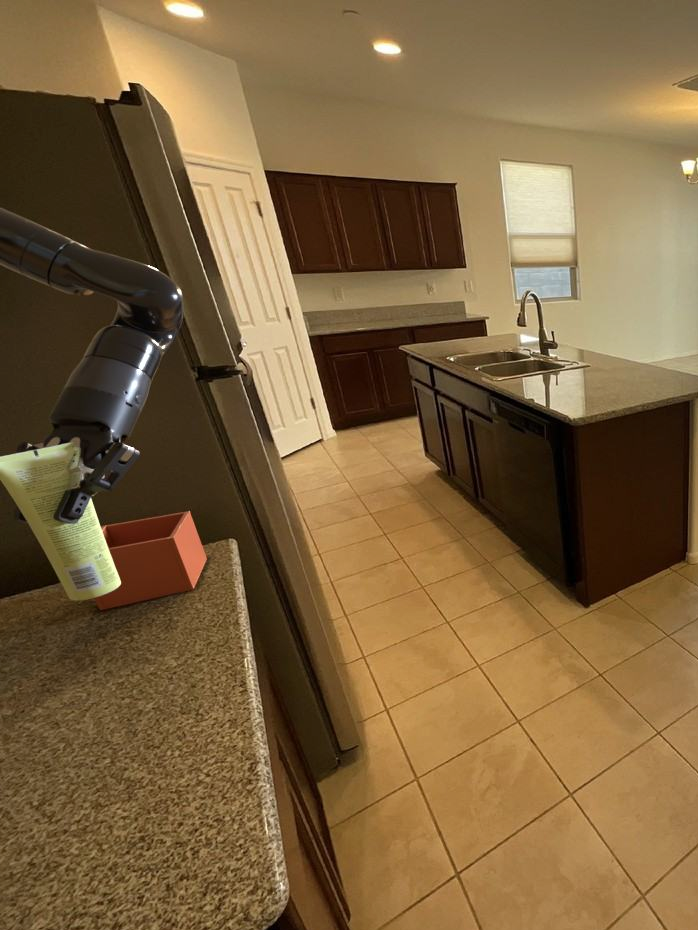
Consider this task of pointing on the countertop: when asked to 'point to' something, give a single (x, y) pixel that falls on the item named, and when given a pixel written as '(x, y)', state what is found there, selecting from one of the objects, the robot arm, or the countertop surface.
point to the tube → (66, 545)
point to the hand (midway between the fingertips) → (45, 521)
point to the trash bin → (153, 558)
